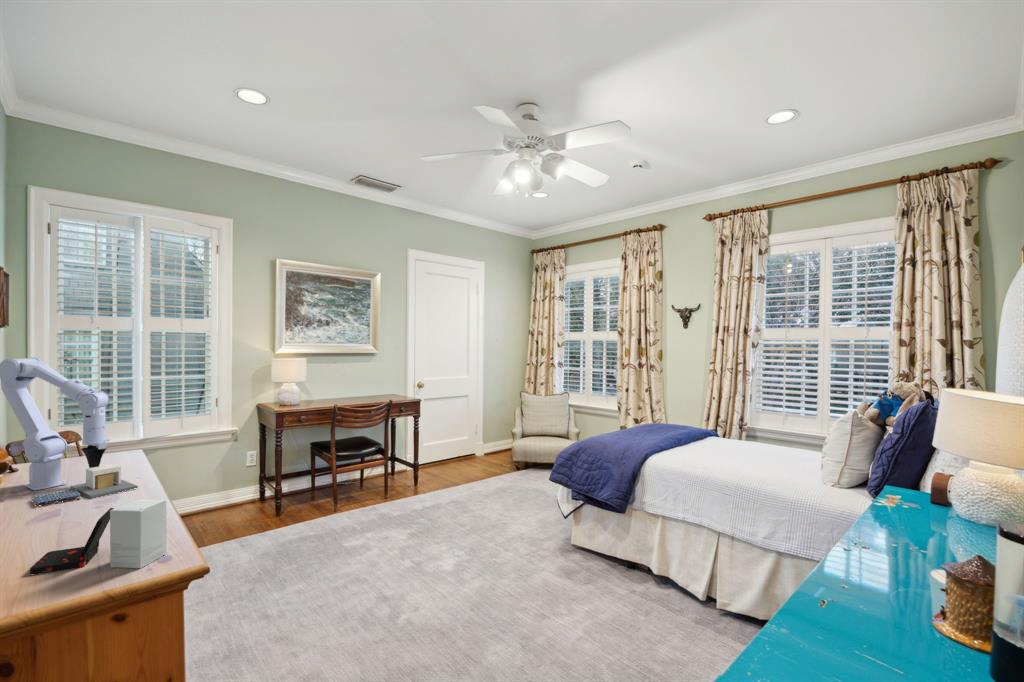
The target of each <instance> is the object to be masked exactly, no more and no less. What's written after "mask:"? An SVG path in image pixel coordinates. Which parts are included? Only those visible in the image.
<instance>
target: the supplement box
mask: <svg viewBox="0 0 1024 682" xmlns="http://www.w3.org/2000/svg"><path fill="white" fill-rule="evenodd" d="M109 527H110V528H109V533H110V534H109V537H110V539H109V540H110V543H109V545H110V546H109V547H110V553H109V554H110V557H109V559H110V568H123V569H126V568H127V569H128V568H129V569H142V568H144V567H146V566H147V565H149V564H151V563H153V562H155V561H157V560H158V558H159V559H160V558H162V557H164V556H166V555H167V550H168V549H167V548H168V547H167V539H168V537H167V500H166V499H135V500H133V501H130V502H128V503H125V504H122V505H120V506H117V507H115V509H112V510H110V520H109ZM165 554H166V555H165ZM163 555H164V556H163ZM161 556H162V557H161ZM156 559H157V560H156ZM154 560H155V561H154Z"/></svg>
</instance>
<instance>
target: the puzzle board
mask: <svg viewBox="0 0 1024 682" xmlns="http://www.w3.org/2000/svg"><path fill="white" fill-rule="evenodd" d="M134 488H138V485H136V484H134V483H131V482H129V481H126V480H123V479H121V483H119V484H118V483H116V482H113V486H110V487H105V488H100V489H92V488H90V487H87V486H86V482H84V483H79V484H75V485H70V486H69V489H70V490H72V489H74V490H76V491H78V493H79V494H80V495H81V494H82V495H81V496H84V497H86V498H88V499H91V500H93V498H94V499H97V498H96V497H98V498H101V496H103V497H106V496H105V495H107V496H110V495H109V494H112V495H114V494H113V493H116V494H118V493H117V492H121V493H123V492H122V491H125V490H130V489H134ZM134 490H135V489H134ZM130 491H131V490H130ZM125 492H126V491H125Z"/></svg>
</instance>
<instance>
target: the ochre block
mask: <svg viewBox="0 0 1024 682" xmlns="http://www.w3.org/2000/svg"><path fill="white" fill-rule="evenodd" d="M110 486H113V473H107V474H102V475H97V476H95V489H100V488H105V487H110Z"/></svg>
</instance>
